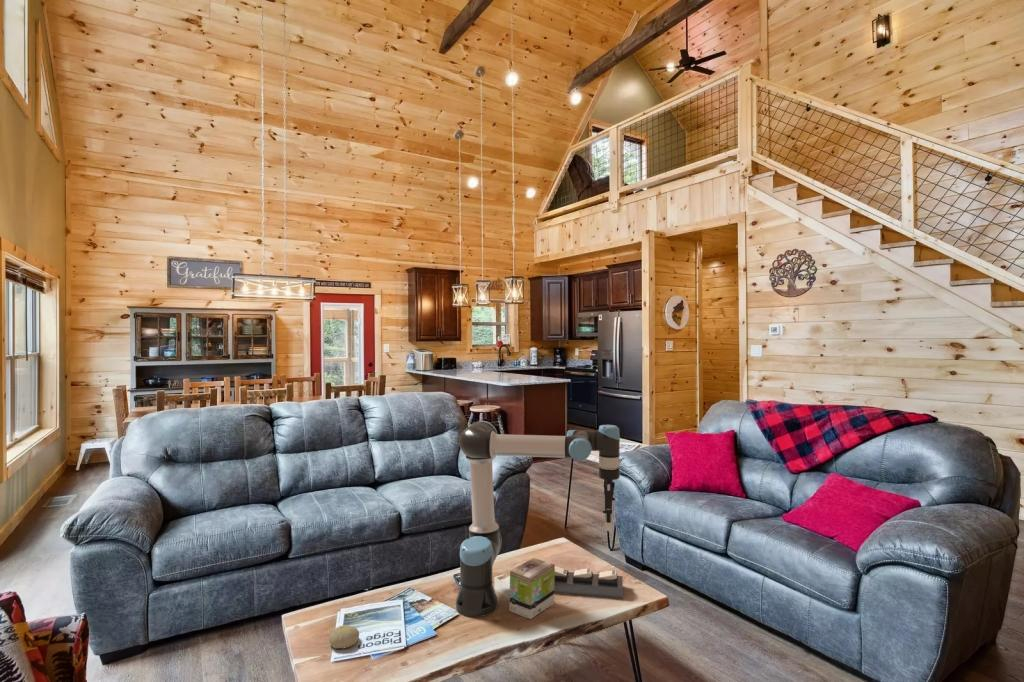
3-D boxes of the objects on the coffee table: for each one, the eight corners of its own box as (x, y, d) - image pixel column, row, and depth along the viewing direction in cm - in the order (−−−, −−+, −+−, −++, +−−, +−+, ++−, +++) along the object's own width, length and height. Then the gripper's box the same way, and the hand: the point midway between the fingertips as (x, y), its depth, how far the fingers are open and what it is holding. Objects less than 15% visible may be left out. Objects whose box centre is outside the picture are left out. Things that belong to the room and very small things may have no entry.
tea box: (531, 620, 187) (531, 578, 187) (508, 611, 193) (508, 570, 193) (555, 603, 199) (555, 563, 199) (533, 595, 205) (532, 556, 205)
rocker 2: (574, 579, 208) (573, 575, 208) (575, 574, 212) (574, 570, 212) (591, 576, 206) (590, 572, 206) (591, 571, 211) (590, 567, 211)
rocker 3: (599, 581, 206) (598, 577, 206) (600, 576, 210) (599, 572, 210) (616, 578, 205) (615, 574, 205) (616, 573, 209) (615, 569, 209)
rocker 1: (549, 573, 210) (550, 569, 209) (550, 568, 214) (551, 564, 214) (565, 579, 208) (566, 574, 208) (566, 573, 213) (567, 569, 213)
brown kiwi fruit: (346, 625, 182) (356, 613, 178) (356, 648, 178) (366, 636, 174) (321, 637, 174) (331, 625, 171) (331, 661, 171) (341, 649, 167)
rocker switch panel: (542, 592, 207) (542, 577, 207) (546, 580, 217) (546, 566, 217) (622, 598, 202) (622, 583, 201) (622, 586, 211) (622, 572, 211)
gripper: (619, 476, 188) (619, 537, 189) (619, 459, 213) (619, 513, 213) (597, 475, 190) (597, 535, 190) (600, 459, 214) (600, 512, 215)
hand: (609, 524), depth 202 cm, fingers open, 13 cm apart
